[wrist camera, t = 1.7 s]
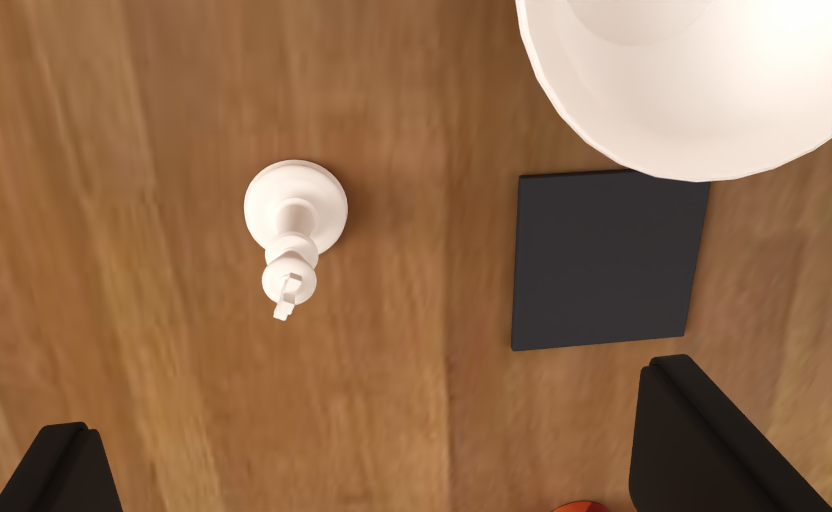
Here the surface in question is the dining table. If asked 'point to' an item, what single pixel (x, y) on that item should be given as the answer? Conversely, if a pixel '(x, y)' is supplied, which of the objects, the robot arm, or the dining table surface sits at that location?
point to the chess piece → (294, 226)
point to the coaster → (604, 257)
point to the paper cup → (582, 507)
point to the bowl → (687, 80)
